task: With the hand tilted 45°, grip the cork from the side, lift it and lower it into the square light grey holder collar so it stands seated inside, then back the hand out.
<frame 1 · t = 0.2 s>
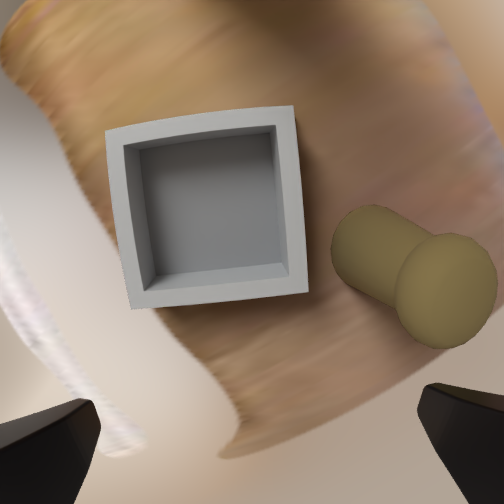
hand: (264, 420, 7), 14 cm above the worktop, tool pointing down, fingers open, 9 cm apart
cork: (370, 247, 22), on the worktop
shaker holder: (211, 204, 20), on the worktop
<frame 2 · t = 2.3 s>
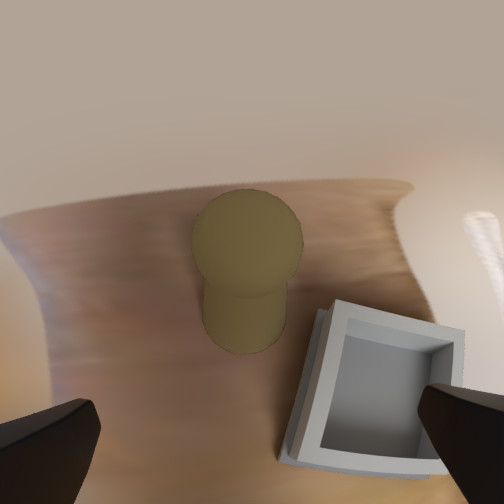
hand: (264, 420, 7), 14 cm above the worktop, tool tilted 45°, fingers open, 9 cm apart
cork: (244, 314, 23), on the worktop
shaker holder: (372, 400, 20), on the worktop
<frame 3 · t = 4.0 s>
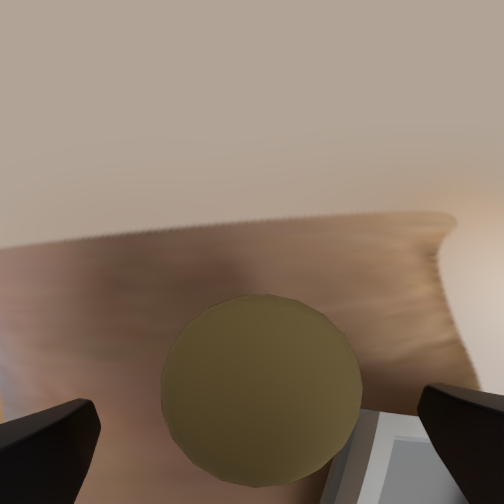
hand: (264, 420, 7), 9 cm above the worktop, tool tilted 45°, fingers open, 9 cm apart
cork: (250, 414, 16), on the worktop
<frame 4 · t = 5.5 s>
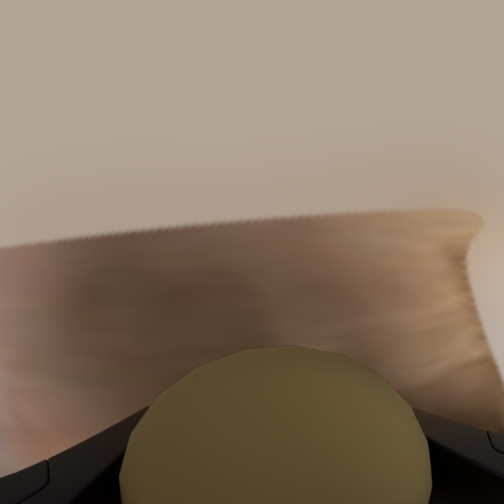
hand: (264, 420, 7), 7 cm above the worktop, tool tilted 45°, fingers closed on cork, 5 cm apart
cork: (254, 454, 12), on the worktop, touching gripper
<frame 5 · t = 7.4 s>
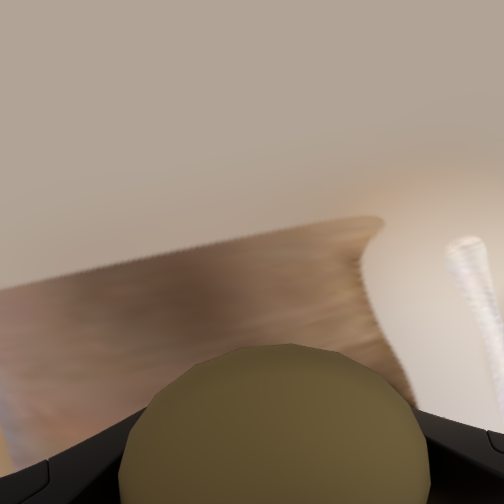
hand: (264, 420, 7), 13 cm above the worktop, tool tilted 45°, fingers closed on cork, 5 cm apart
cork: (253, 453, 12), point 6 cm above the worktop, touching gripper
when the fingers open (9 cm above the worktop, at t = 9.4 s): cork drops 1 cm, resting on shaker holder.
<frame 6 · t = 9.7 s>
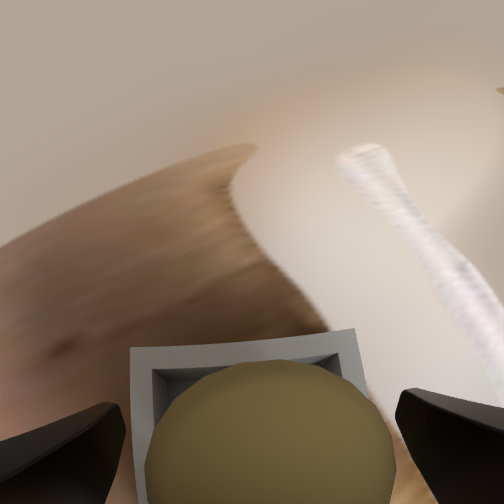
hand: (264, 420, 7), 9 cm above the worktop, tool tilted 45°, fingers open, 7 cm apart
cork: (252, 453, 13), point 1 cm above the worktop, touching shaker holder
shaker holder: (252, 450, 14), on the worktop
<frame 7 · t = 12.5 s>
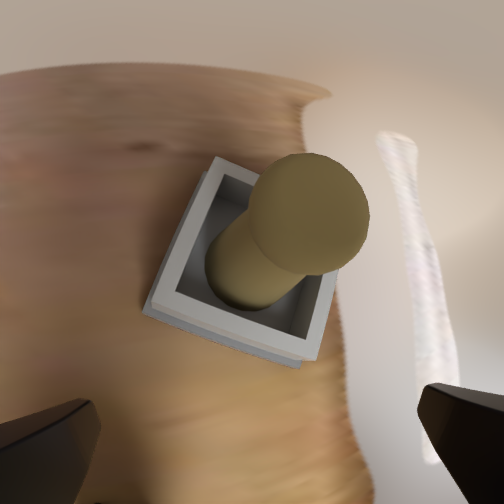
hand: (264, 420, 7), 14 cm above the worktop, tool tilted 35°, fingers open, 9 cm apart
cork: (248, 267, 22), point 1 cm above the worktop, touching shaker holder
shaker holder: (246, 270, 23), on the worktop
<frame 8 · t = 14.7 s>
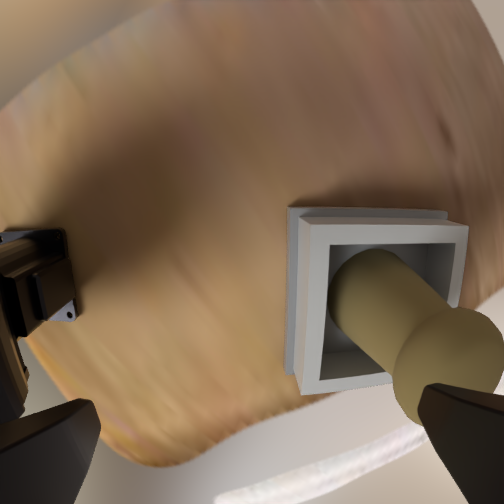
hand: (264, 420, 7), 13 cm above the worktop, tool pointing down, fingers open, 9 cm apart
cork: (370, 293, 20), point 1 cm above the worktop, touching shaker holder
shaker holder: (366, 290, 21), on the worktop
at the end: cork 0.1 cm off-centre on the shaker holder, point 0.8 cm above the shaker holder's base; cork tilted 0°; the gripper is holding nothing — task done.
